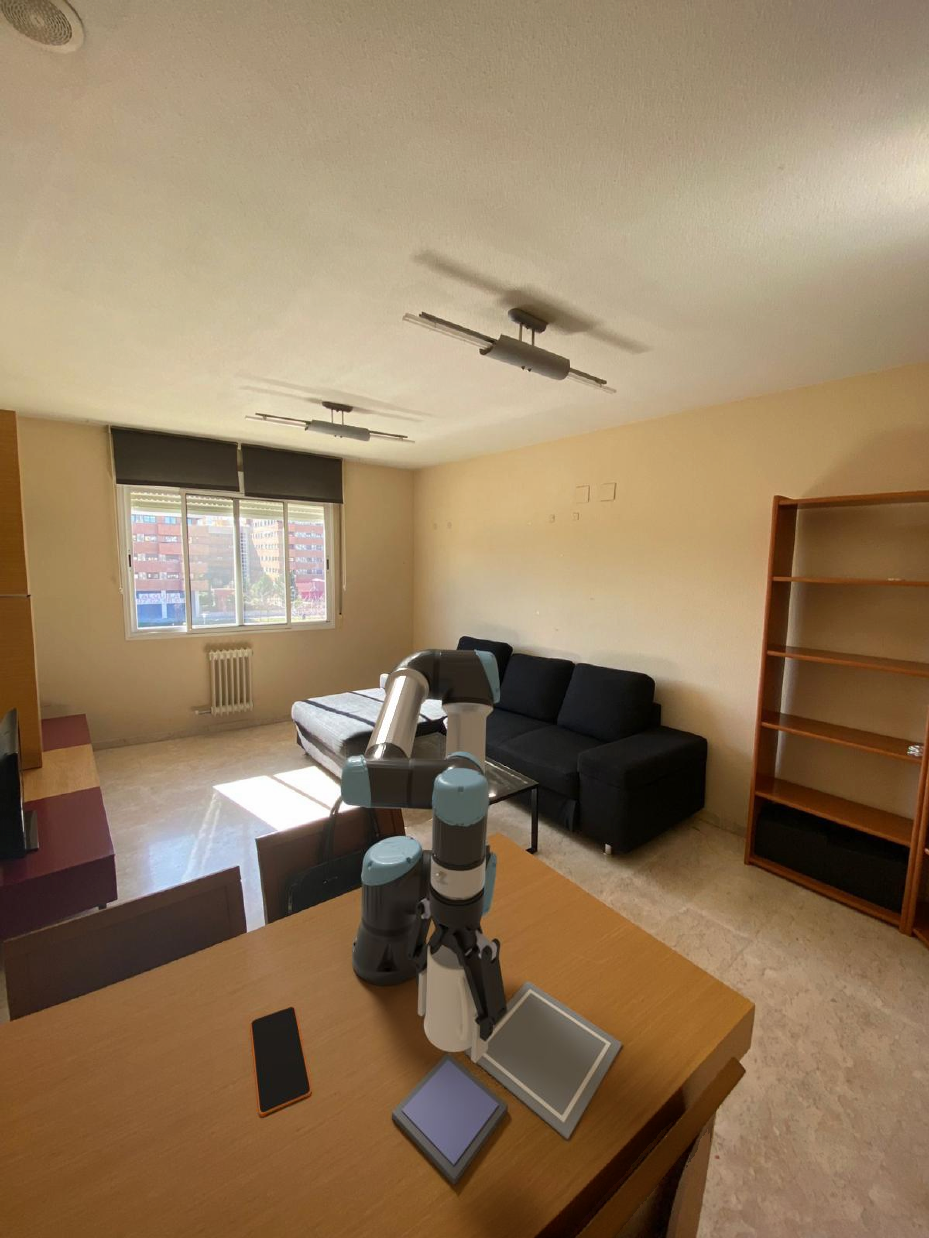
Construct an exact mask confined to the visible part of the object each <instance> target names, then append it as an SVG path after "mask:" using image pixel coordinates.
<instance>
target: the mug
mask: <svg viewBox="0 0 929 1238" xmlns="http://www.w3.org/2000/svg"><path fill="white" fill-rule="evenodd" d="M471 950H472V949H470V950H469V951H468V952H467V953H466V954H465V955H467V954H468V953H469V952H471ZM476 1012H477V1010H476V1007H475V1004H474V1000H473V997H472V994H471V991H470V987H469V984H468V981H467V978H466V974H465V971H464V968H463V966H460V965H459V962H458V958H457V955H456V954H455V953H454V952H453V951H452V950H451V949H449V948H447V947H445V946H443V945H442V946H441V947H440V949H439V950H438V951H437V952H436V953H435V954H433V955H431V953H430V946H429V945H428V955H427V993H426V1013H425V1014H424V1019H423V1028H424V1029H423V1030H424V1033H425V1036H426V1037H427V1039H428V1041H429V1042H430V1043H431V1044H432V1045H433V1046H435V1047H436V1048H437V1049H439V1050H441V1051H445V1052H448V1053H459V1052H463V1051H465V1050H466V1049H468V1048H470V1047H471V1046H472V1027H473V1015H474V1014H475V1013H476Z"/></svg>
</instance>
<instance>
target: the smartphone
mask: <svg viewBox="0 0 929 1238" xmlns="http://www.w3.org/2000/svg"><path fill="white" fill-rule="evenodd" d="M299 1021H300V1020H299V1016H298V1015H297V1010H296V1007H295V1006H288V1007H286V1008H283V1009H282V1008H281V1009H280V1010H278V1011H274V1012H271V1013H269V1014H266V1015H263V1016H260V1017H257V1018H254V1019H253V1020H251V1021H250V1023H249V1027H250V1028H249V1029H250V1040H251V1049H252V1050H251V1051H252V1058H253V1069H254V1071H253V1072H254V1079H255V1090H256V1091H255V1092H256V1101H257V1113H258V1116H260V1118H261V1117H266V1116H268V1115H270V1114H273V1113H274V1112H276V1111H279V1110H281V1109H283V1108H284V1107H286V1106H289V1105H293V1104H295V1103H297V1102H299V1101H302V1100H305V1099H306V1098H308V1097H310V1096H311V1095H312V1092H313V1090H312V1089H313V1088H312V1085H311V1081H310V1080H311V1079H310V1075H309V1070H308V1069H309V1068H308V1065H307V1060H306V1056H305V1049H304V1046H303V1045H304V1044H303V1036H302V1034H301V1027H300V1022H299Z"/></svg>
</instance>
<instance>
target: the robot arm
mask: <svg viewBox="0 0 929 1238" xmlns="http://www.w3.org/2000/svg"><path fill="white" fill-rule="evenodd" d="M384 693H385V697H384V700H383V702H382V705H381V707H380V710H379V713H378V716H377V719H376V722H375V724H374V727H373V729H372V730H373V731H372V733H371V736H370V739H369V741H368V744H367V747H366V750H365V752H364V755H363V754H360V755H352V756H349V757H348V758H346V759H345V761H344V764H343V766H342V771H341V777H340V796H341V800H342V802H343V803H344V804H346V805H348V806H354V807H363V808H367V809H371V808H373V809H375V808H376V809H407V810H408V809H411V810H426V811H427V810H429V811H432V817H431V818H432V819H431V820H432V821H431V849H423V846H422V844H421V842H420V841H419V840H417V839H416V838H413V837H412V836H407V835H398V836H392V837H391V836H390V837H387V838H385V839H382V840H380V841H378V842H376V843H375V844H373V845H372V846H370V848H369V849H368V850H367V851H366V853H365V855H364V857H363V860H362V868H361V870H362V871H361V875H360V878H361V879H360V880H361V921H360V923H359V927H358V929H357V933H356V936H355V938H354V940H353V944H352V948H351V963H352V968H353V970H354V971H355V973H356V974H357V975H358V977H360V978H361V979H362V980H364V981H366V982H368V983H370V984H374V985H378V986H394V985H399V984H402V983H405V982H407V981H409V980H411V979H412V978H414V977H415V976H416V980H415V983H416V987H417V988H418V995H417V996H418V999H417V1014H418V1015H419V1016H420V1017H423V1016H425V1015H426V993H427V955H428V945H429V946H430V953H431V955H433V954H435V953H436V952H437V951H438V950H439V949H440V947H441V946H442V945H443V946H445V947H447V948H449V949H451V950H452V951H453V952H454V953H455V954H456V955H457V958H458V962H459V965H460V966H463V968H464V971H465V974H466V978H467V981H468V984H469V987H470V991H471V994H472V997H473V1000H474V1004H475V1007H476V1010H477V1012H476V1013H475V1014H474V1015H473V1027H472V1050H471V1058H470V1060H471V1061H472V1062H473V1063H474V1064H477V1063H476V1062H477V1061H478V1060H479V1059H480V1058H481V1057H482V1055H483V1054H484V1053H485V1052H486V1051H487V1050H488V1038H489V1037H490V1036H491V1035H492V1033H493V1025H496V1024H497V1023H498V1022H499V1021H500V1020H501V1019H502V1017H503V1016H504V1015H505V1014H506V1013H507V1005H506V1004H507V1001H506V994H505V987H504V981H503V975H502V974H503V973H502V967H501V963H500V950H501V942H500V941H499V940H500V939H497V937H495V938H493V939H491V940H490V939H489V938H487V937H486V936H485V935H484V934H483V930H482V926H481V925H482V924H481V920H482V918H484V917H485V916H487V915H488V914H489V912H490V910H491V908H492V902H493V899H494V894H495V893H494V892H495V891H494V890H495V886H496V879H497V878H496V877H497V864H498V855H497V853H496V852H494V851H491V842H490V841H489V840H488V839H487V831H488V818H489V817H488V816H489V815H488V813H489V809H490V800H489V799H490V795H489V783H488V779H487V777H486V774H485V773H486V772H485V769H486V734H487V733H486V731H487V729H486V728H487V717H488V716H489V715H490V714H492V712H493V711H494V704H497V703H499V702H500V700H501V699H500V698H501V690H500V677H499V668H498V662H497V658H496V656H495V654H494V653H492V652H490V651H485V650H477V649H474V650H471V649H470V650H469V649H447V648H446V649H442V648H441V649H439V648H425V649H421V650H418V651H417V650H416V651H415V652H413V653H411V654H409V655H407V656H405V657H404V658H403V659H401V660H400V661H399V662H397V664H395V665H394V666H393V667H392V669H391V670H390V672H389V673H388V675H387V677H386V679H385V682H384ZM426 700H433V701H441V710H442V711H443V713H445V714H446V716H447V723H446V724H447V725H446V740H445V741H446V742H445V758H444V759H441V758H440V759H439V758H436V759H435V758H415V757H411V756H412V753H413V752H412V751H413V746H414V741H415V738H416V737H415V736H416V732H417V728H418V722H419V718H420V714H421V709H422V705H423V704H424V703H425V702H426ZM431 923H432V924H433V925H434V930H433V932H432V934H431V935H430V937H429V939H428V941H427V937H428V935H429V930H430V927H431ZM470 949H472V950H471V952H469V953H468V954H467V955H465V954H466V953H467V952H468V951H469V950H470Z"/></svg>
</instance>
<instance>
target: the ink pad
mask: <svg viewBox="0 0 929 1238" xmlns="http://www.w3.org/2000/svg"><path fill="white" fill-rule="evenodd" d="M508 1112H509V1104H508V1103H506V1102H505V1101H504V1099H502V1098H501V1097H500V1096H498V1095H497V1093H495V1092H494V1091H492V1090H491V1089H490V1088H489V1087H488V1085H486V1084H484V1082H482V1081H481V1080H480V1079H479V1078H478V1077H477V1076H476V1075H474V1074H473V1073H472V1072H471V1071H469V1070H468V1068H466V1067H465V1066H464V1065H463V1064H462V1063H460V1062H459V1061H458V1059H456V1058H455V1057H454V1056H453V1055H451V1053H450V1052H448V1051H446V1053H445V1054H444V1056H442V1057H441V1059H440V1060H439V1061H438V1062H437V1063H436V1064H435V1065H434V1066H433V1067H432V1068H431V1069H430V1070H429V1072H427V1073H426V1075H425V1076H424V1077H423V1078H422V1079H421V1080H420V1081H419V1082H418V1083H417V1084H416V1085H415V1087H413V1089H412V1090H410V1092H409V1093H408V1094H406V1096H405V1097H404V1098H403V1099H402V1100H401V1101H400V1103H399V1104H398V1105H397V1106H396V1107H395V1108H394V1109H393V1110H392V1111H391V1118H392V1120H393V1121H394V1122H395V1123H396V1124H397V1126H398V1127H400V1129H401V1130H403V1132H404V1133H405V1134H406V1135H407V1137H409V1139H411V1140H412V1142H413V1143H414V1145H416V1146H417V1147H418V1148H419V1149H420V1150H421V1152H422V1153H423V1154H424V1155H425V1156H426V1157H427V1158H428V1159H429V1160H430V1161H431V1162H432V1164H434V1166H435V1167H436V1168H437V1169H438V1170H439V1171H440V1172H441V1173H442V1174H443V1175H444V1176H445V1177H446V1179H447V1180H448V1181H449V1182H450V1183H451V1184H452V1185H453V1186H455V1185H456V1184H457V1183H458V1181H459V1180H460V1179H461V1177H462V1176H463V1175H464V1173H465V1171H466V1170H467V1169H468V1167H469V1166H470V1164H471V1163H472V1161H473V1160H475V1159H474V1158H475V1157H476V1156H477V1155H478V1153H479V1152H480V1151H481V1149H482V1148H483V1146H484V1145H485V1143H486V1142H487V1141H488V1140H489V1138H490V1136H491V1135H492V1134H493V1132H494V1131H495V1130H496V1129H497V1127H498V1125H499V1124H500V1123H501V1121H502V1120H503V1118H504V1117H505V1115H506V1114H507V1113H508Z"/></svg>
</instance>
